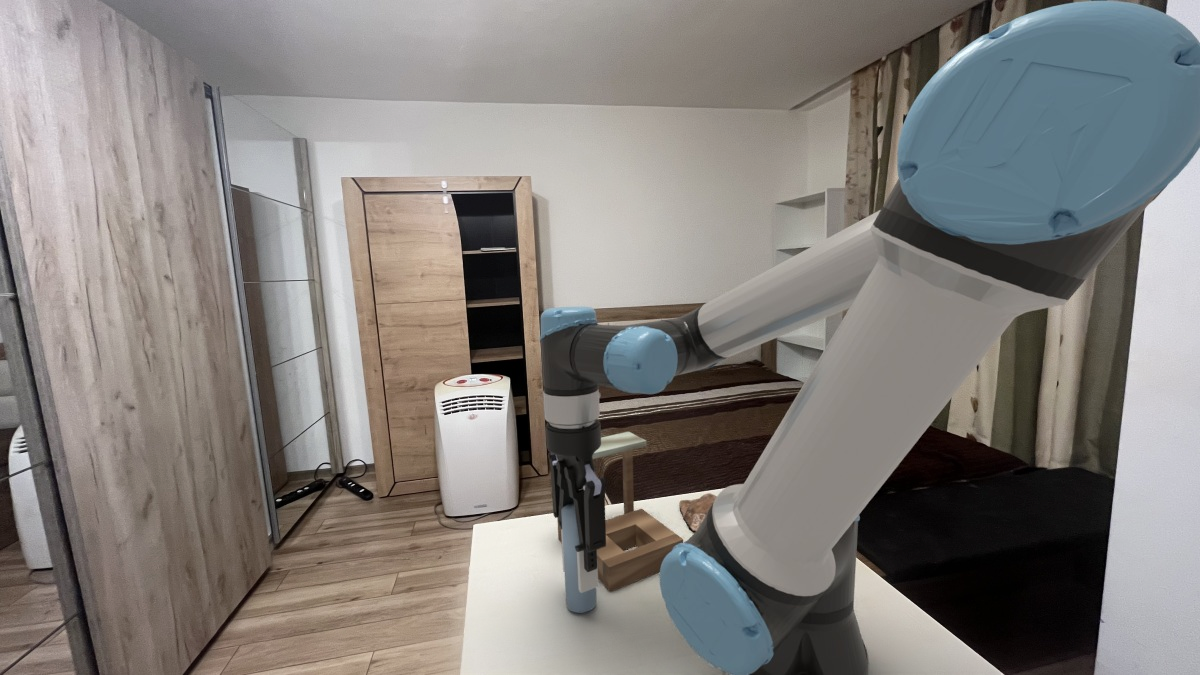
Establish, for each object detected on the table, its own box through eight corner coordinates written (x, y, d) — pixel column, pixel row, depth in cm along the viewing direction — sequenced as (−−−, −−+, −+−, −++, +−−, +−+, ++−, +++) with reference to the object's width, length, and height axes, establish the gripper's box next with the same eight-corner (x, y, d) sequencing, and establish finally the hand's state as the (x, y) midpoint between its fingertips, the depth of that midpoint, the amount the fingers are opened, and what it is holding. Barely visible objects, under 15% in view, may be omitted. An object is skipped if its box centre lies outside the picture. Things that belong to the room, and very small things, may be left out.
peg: (602, 605, 67) (598, 512, 65) (574, 616, 65) (569, 521, 63) (587, 588, 71) (583, 499, 69) (561, 598, 69) (556, 507, 67)
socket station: (688, 560, 78) (687, 461, 76) (604, 594, 70) (600, 486, 68) (630, 514, 93) (628, 431, 91) (556, 538, 85) (551, 448, 83)
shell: (732, 502, 98) (732, 486, 97) (753, 536, 85) (753, 517, 85) (677, 504, 98) (677, 487, 97) (689, 538, 85) (689, 519, 85)
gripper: (630, 432, 59) (635, 604, 62) (570, 402, 74) (576, 542, 77) (576, 444, 55) (584, 626, 58) (524, 410, 70) (533, 556, 73)
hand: (580, 578), depth 68 cm, fingers closed on peg, 4 cm apart
